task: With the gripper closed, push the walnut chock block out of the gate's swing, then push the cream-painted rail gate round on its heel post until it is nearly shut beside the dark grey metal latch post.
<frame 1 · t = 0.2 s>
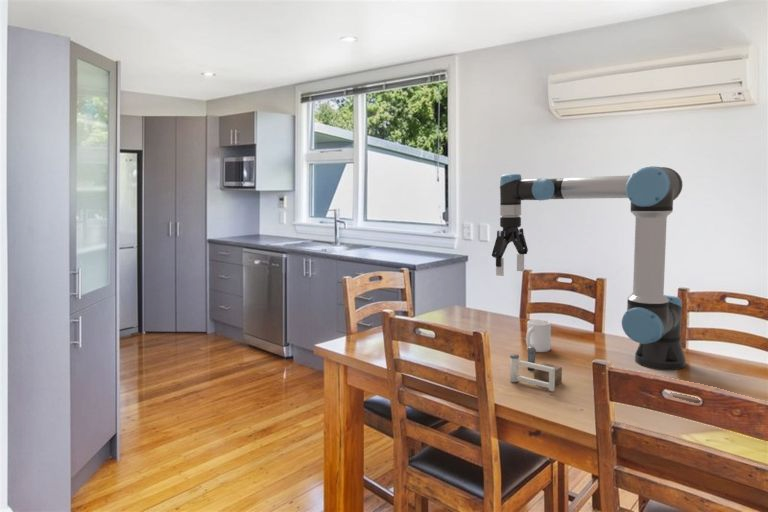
hand: (510, 273, 203), 28 cm above the table, fingers open, 13 cm apart
gate: (531, 372, 163), point 4 cm above the table, hinge at 0.0°
chock block: (547, 383, 166), on the table
mug: (535, 350, 200), on the table
latch post: (531, 369, 179), on the table
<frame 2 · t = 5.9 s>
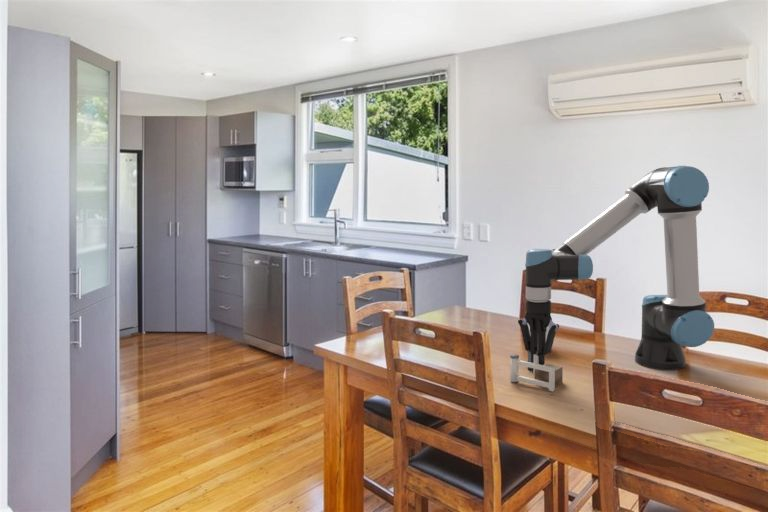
hand: (537, 374, 168), 2 cm above the table, fingers closed
chock block: (548, 383, 166), on the table, touching gripper
everything else where it was.
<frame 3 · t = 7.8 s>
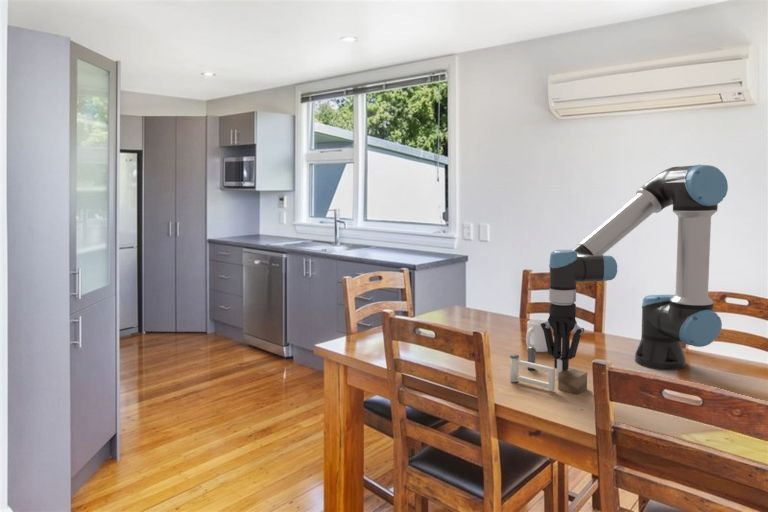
hand: (561, 379, 163), 2 cm above the table, fingers closed
chock block: (572, 388, 160), on the table, touching gripper
everything else where it was.
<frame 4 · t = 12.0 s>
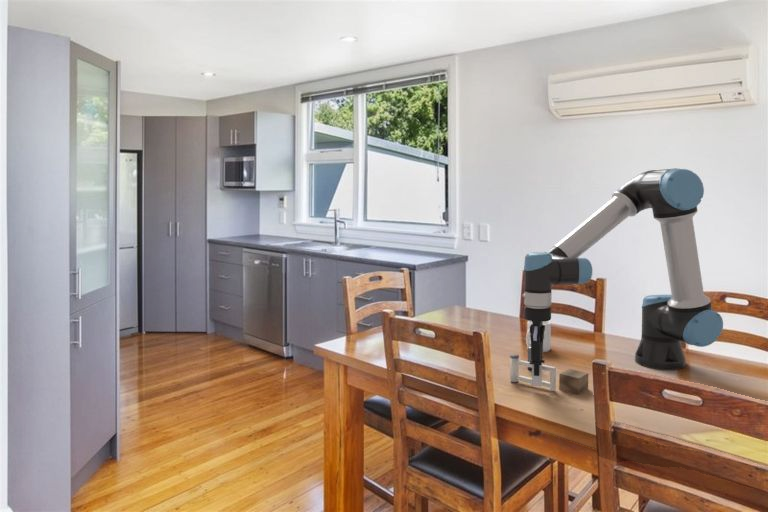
hand: (536, 385, 159), 2 cm above the table, fingers closed
gate: (532, 372, 163), point 4 cm above the table, hinge at 3.2°, touching gripper
chock block: (573, 389, 160), on the table
everything else where it was.
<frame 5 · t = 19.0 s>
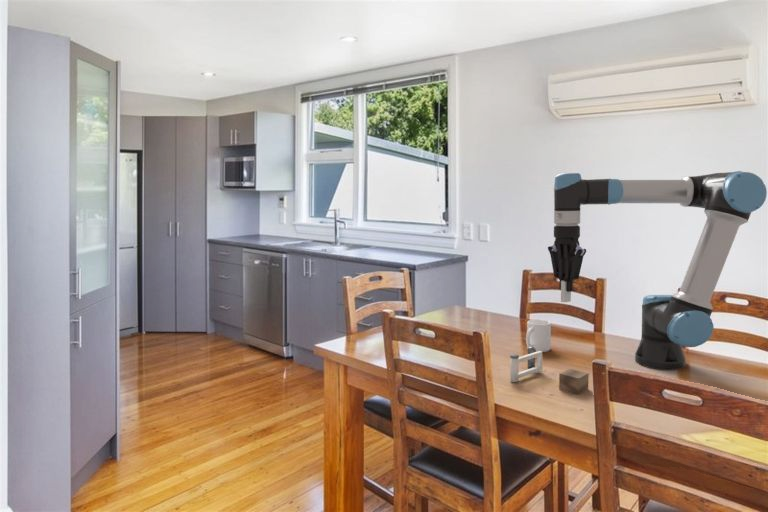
hand: (565, 301, 167), 24 cm above the table, fingers closed
gate: (526, 364, 171), point 4 cm above the table, hinge at 81.9°
everything else where it was.
at the end: gate at +82° (first picture: +0°); chock block inside the target area (2.9 cm from its centre), on the table; chock block touching table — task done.
